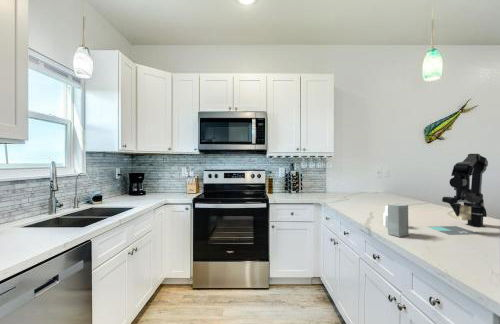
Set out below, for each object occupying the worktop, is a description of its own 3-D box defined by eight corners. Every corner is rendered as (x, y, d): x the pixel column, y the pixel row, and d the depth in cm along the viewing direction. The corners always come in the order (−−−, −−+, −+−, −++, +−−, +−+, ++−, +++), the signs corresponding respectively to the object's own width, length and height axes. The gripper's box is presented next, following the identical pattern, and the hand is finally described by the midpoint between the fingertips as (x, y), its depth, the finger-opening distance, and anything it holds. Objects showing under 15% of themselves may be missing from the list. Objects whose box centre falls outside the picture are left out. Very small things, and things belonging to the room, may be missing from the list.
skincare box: (399, 237, 133) (399, 206, 133) (386, 234, 140) (386, 203, 139) (409, 235, 137) (409, 204, 137) (396, 231, 144) (396, 202, 143)
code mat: (455, 226, 155) (455, 226, 155) (482, 234, 139) (482, 234, 139) (426, 226, 154) (426, 226, 154) (449, 235, 138) (449, 234, 138)
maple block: (462, 217, 145) (462, 204, 145) (470, 219, 140) (471, 206, 140) (454, 217, 145) (454, 204, 145) (461, 219, 140) (462, 206, 140)
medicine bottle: (396, 225, 157) (396, 205, 157) (399, 228, 150) (399, 207, 150) (383, 224, 159) (383, 204, 159) (385, 227, 153) (385, 206, 152)
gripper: (458, 188, 134) (458, 219, 134) (494, 188, 135) (493, 219, 135) (441, 186, 145) (441, 214, 145) (474, 186, 146) (473, 214, 146)
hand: (462, 215), depth 143 cm, fingers closed on maple block, 5 cm apart
